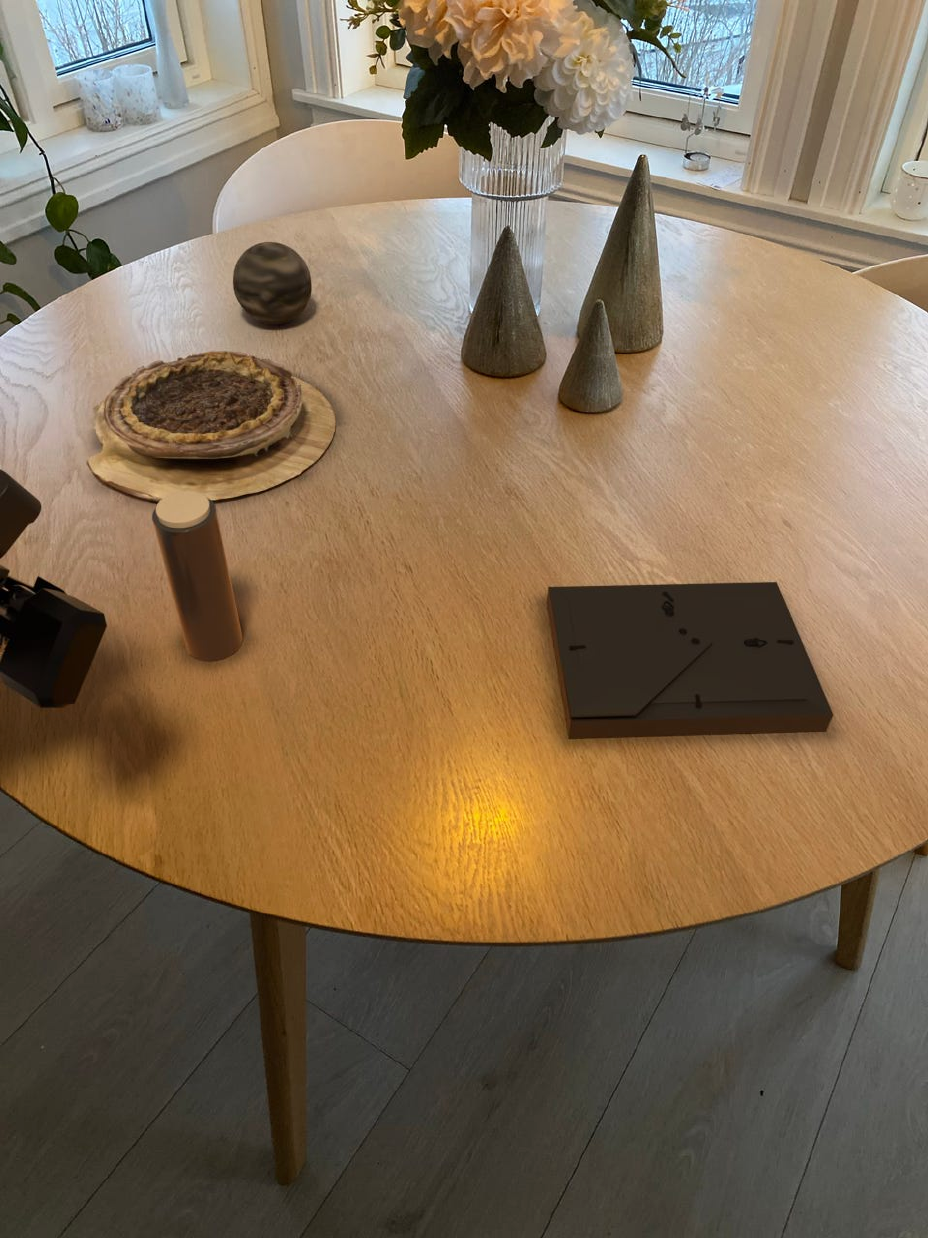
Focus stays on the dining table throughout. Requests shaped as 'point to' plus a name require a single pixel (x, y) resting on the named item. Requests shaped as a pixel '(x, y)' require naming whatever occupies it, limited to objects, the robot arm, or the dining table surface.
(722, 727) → the picture frame
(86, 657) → the robot arm
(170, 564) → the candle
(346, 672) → the dining table surface
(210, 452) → the pie
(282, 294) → the decorative stone
